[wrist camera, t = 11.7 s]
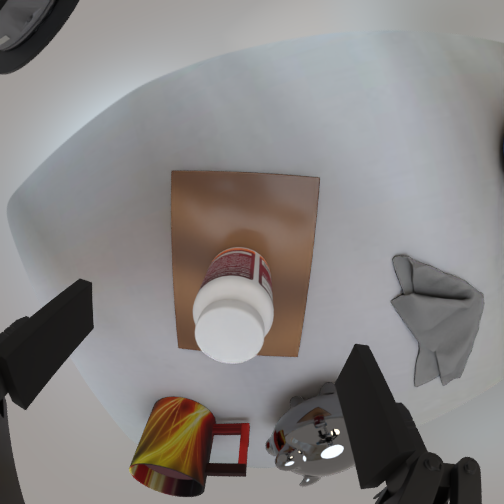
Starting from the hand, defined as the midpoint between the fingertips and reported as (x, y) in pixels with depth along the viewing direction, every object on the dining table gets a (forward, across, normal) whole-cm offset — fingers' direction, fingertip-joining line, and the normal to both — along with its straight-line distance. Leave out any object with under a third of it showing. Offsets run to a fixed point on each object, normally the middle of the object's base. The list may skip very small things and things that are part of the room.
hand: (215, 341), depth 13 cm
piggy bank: (+17, +15, -20) cm, 30 cm away
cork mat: (+16, +1, -3) cm, 17 cm away
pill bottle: (+16, +1, -3) cm, 16 cm away
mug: (+17, -1, -27) cm, 32 cm away
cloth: (+17, +28, -4) cm, 33 cm away
